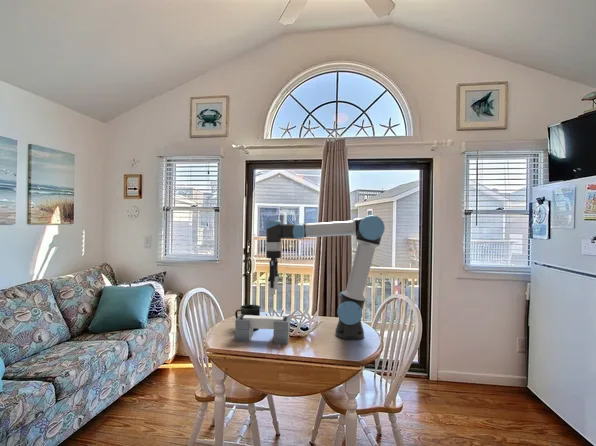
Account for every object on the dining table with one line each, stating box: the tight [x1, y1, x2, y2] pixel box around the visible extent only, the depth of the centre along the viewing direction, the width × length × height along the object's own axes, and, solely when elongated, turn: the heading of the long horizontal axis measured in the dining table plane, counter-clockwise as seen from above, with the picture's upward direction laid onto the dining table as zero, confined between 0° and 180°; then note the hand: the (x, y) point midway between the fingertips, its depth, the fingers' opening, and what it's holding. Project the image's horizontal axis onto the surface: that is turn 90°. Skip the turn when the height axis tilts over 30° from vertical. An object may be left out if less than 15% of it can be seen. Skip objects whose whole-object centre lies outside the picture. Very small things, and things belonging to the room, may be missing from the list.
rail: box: [243, 315, 284, 330], centre depth 176 cm, size 20×5×5 cm, turn 86°
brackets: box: [234, 313, 291, 345], centre depth 176 cm, size 26×11×10 cm, turn 87°
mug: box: [234, 304, 262, 332], centre depth 194 cm, size 11×15×12 cm
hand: (273, 291), depth 179 cm, fingers open, 13 cm apart
